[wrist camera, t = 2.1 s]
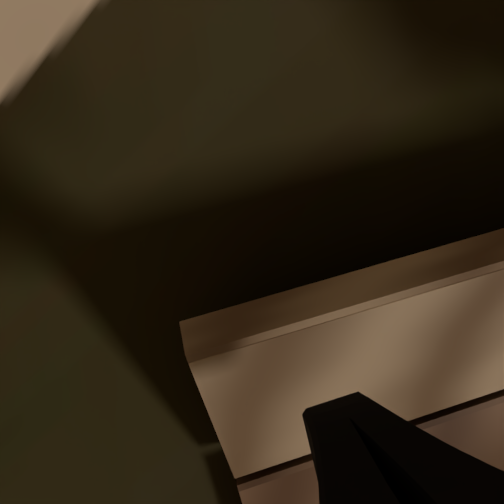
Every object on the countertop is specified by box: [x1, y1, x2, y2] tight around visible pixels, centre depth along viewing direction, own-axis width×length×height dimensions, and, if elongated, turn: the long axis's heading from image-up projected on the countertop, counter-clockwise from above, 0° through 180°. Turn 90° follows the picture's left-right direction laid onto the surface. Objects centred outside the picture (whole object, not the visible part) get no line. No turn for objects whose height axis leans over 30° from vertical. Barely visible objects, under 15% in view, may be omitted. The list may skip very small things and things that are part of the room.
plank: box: [179, 228, 504, 479], centre depth 15 cm, size 18×8×1 cm, turn 104°
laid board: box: [236, 389, 504, 504], centre depth 19 cm, size 18×7×1 cm, turn 104°
